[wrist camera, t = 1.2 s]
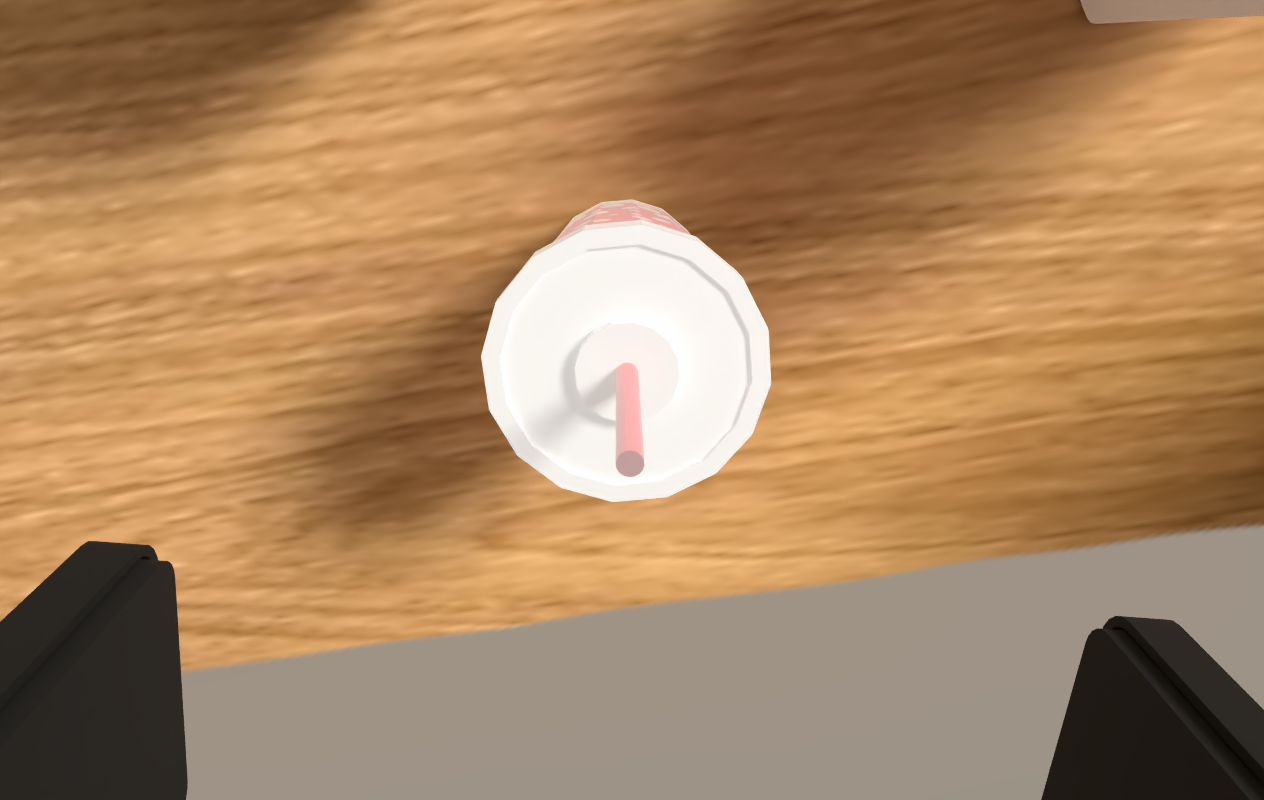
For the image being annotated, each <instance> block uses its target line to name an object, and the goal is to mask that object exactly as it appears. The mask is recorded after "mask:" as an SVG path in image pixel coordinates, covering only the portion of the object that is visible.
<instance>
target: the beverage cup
mask: <svg viewBox="0 0 1264 800" xmlns="http://www.w3.org/2000/svg"><path fill="white" fill-rule="evenodd" d="M481 359H482V366H483V373H484V380H485V386H486V393H487V400H488V406H489V411H490V412H491V414H492V415H493V417H494V419H495V420H496V422H497V424H498V425H499V427H500V428H501V430H502V432H503V433H504V435H505V437H506V438H507V440H508V441H509V443H510V445H511V446H512V448H513V450H514V451H515V453H516V454H517V456H518V457H520V458H521V459H522V460H524V461H525V462H526V463H528V464H529V465H531V466H532V467H533V468H535V469H536V470H537V471H539V472H540V473H541V474H543V475H544V476H545V477H547V478H548V479H550V480H551V481H552V482H554V483H555V484H556V485H558V486H559V487H560V488H564V489H567V490H571V491H575V492H578V493H582V494H585V495H589V496H593V497H596V498H600V499H604V500H607V501H611V502H619V501H630V500H641V499H652V498H663V497H668V496H670V495H672V494H674V493H677V492H679V491H681V490H683V489H685V488H687V487H689V486H691V485H693V484H695V483H697V482H699V481H701V480H703V479H705V478H708V477H710V476H712V475H714V474H716V473H717V472H718V471H719V469H720V468H721V467H722V466H723V465H724V464H725V463H726V462H727V461H728V460H729V459H730V458H731V457H732V455H733V454H734V453H735V452H736V451H737V450H738V449H739V448H740V447H741V446H742V445H743V444H744V442H745V441H746V440H747V439H748V438H749V437H750V436H751V435H752V434H753V431H754V428H755V426H756V423H757V420H758V417H759V415H760V412H761V409H762V407H763V404H764V401H765V399H766V396H767V393H768V391H769V388H770V385H771V371H770V351H769V330H768V327H767V325H766V323H765V321H764V319H763V317H762V315H761V313H760V311H759V309H758V307H757V305H756V303H755V301H754V299H753V297H752V295H751V293H750V291H749V289H748V287H747V285H746V283H745V281H744V279H743V277H742V276H741V275H740V274H739V273H738V272H737V271H736V270H735V269H734V268H733V267H731V266H730V265H729V264H728V263H727V262H725V261H724V260H723V259H722V258H721V257H720V256H718V255H717V254H716V253H715V252H714V251H712V250H711V249H710V248H709V247H708V246H706V245H705V244H704V243H703V242H702V241H700V240H699V239H698V238H697V237H696V236H693V235H691V234H690V233H689V232H688V231H687V229H686V228H685V227H683V226H682V225H681V224H680V223H679V222H677V221H676V220H675V219H674V218H673V217H671V216H670V215H669V214H668V213H667V212H665V211H664V210H663V209H662V208H659V207H655V206H652V205H649V204H646V203H642V202H639V201H636V200H633V199H630V200H620V201H610V202H601V203H599V204H597V205H595V206H593V207H591V208H590V209H588V210H586V211H584V212H582V213H580V214H578V215H577V216H575V217H573V219H572V220H571V221H570V222H569V224H568V225H567V226H566V227H565V228H564V230H563V231H562V232H561V233H560V235H559V236H558V237H557V238H556V240H555V241H554V242H553V243H551V244H549V245H547V246H545V247H543V248H541V249H539V250H538V251H536V252H535V253H534V254H533V255H532V256H531V258H530V259H529V260H528V261H527V263H526V264H525V265H524V266H523V268H522V269H521V270H520V271H519V273H518V274H517V275H516V276H515V278H514V279H513V280H512V281H511V283H510V284H509V285H508V286H507V288H506V289H505V290H504V291H503V293H502V294H501V295H500V296H499V298H498V299H497V301H496V303H495V306H494V310H493V314H492V317H491V321H490V325H489V328H488V332H487V336H486V340H485V343H484V347H483V351H482V354H481Z"/></svg>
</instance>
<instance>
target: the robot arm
mask: <svg viewBox="0 0 1264 800" xmlns="http://www.w3.org/2000/svg"><path fill="white" fill-rule="evenodd" d="M186 795H187V765H186V748H185V732H184V716H183V700H182V684H181V666H180V650H179V634H178V617H177V601H176V585H175V574H174V569H173V566H172V564H171V563H170V562H168V561H158V558H157V555H156V553H155V550H154V549H153V548H152V547H151V546H150V545H139V544H125V543H112V542H98V541H88V542H86V543H85V544H83V545H82V546H80V547H79V548H78V549H77V550H76V551H75V552H74V553H73V554H72V555H71V556H70V557H69V558H68V559H67V560H66V561H65V562H63V563H62V564H61V565H60V566H59V567H58V568H57V569H56V570H55V571H54V572H53V573H52V574H51V575H50V576H49V577H48V578H46V579H45V580H44V581H43V582H42V583H41V584H40V585H39V586H38V587H37V588H36V589H35V590H34V591H33V592H32V593H31V594H29V595H28V596H27V597H26V598H25V599H24V600H23V601H22V602H21V603H20V604H19V605H18V606H17V607H16V608H15V609H13V610H12V611H11V612H10V613H9V614H8V615H7V616H6V617H5V618H4V619H3V620H2V621H1V622H0V800H186ZM1041 800H1264V710H1263V709H1262V708H1261V707H1260V706H1259V705H1258V704H1257V703H1256V702H1255V701H1254V700H1253V699H1252V698H1251V697H1250V696H1249V695H1248V694H1247V693H1246V692H1245V691H1244V690H1243V689H1242V688H1241V687H1240V686H1239V685H1238V684H1237V683H1236V681H1234V680H1233V679H1232V677H1231V676H1230V675H1228V674H1227V672H1225V670H1224V669H1223V668H1222V667H1221V666H1220V665H1219V664H1218V663H1217V662H1215V660H1214V659H1213V658H1212V657H1211V656H1210V655H1209V654H1208V653H1207V652H1206V651H1205V650H1204V649H1203V648H1202V647H1200V645H1199V644H1198V643H1197V642H1196V641H1195V640H1194V639H1193V638H1192V637H1191V636H1189V634H1188V633H1187V632H1186V631H1185V630H1184V629H1183V628H1182V627H1181V626H1180V625H1178V624H1177V623H1175V622H1174V621H1171V620H1163V619H1149V618H1136V617H1122V616H1115V617H1113V618H1111V619H1109V620H1108V621H1107V623H1106V624H1105V625H1104V627H1103V629H1095V630H1093V631H1092V632H1091V634H1090V635H1089V636H1088V638H1087V641H1086V644H1085V647H1084V650H1083V654H1082V658H1081V661H1080V665H1079V668H1078V672H1077V675H1076V679H1075V682H1074V686H1073V690H1072V693H1071V697H1070V700H1069V704H1068V707H1067V711H1066V714H1065V718H1064V722H1063V725H1062V728H1061V732H1060V736H1059V739H1058V743H1057V746H1056V750H1055V753H1054V757H1053V760H1052V764H1051V767H1050V771H1049V775H1048V778H1047V782H1046V785H1045V789H1044V792H1043V796H1042V799H1041Z"/></svg>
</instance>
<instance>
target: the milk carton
mask: <svg viewBox="0 0 1264 800" xmlns="http://www.w3.org/2000/svg"><path fill="white" fill-rule="evenodd" d="M1080 1H1081V4H1082V7H1083V10H1084V12H1085V15H1086V17H1087V19H1088V21H1090V22H1091V23H1094V24H1103V23H1123V22H1143V21H1163V20H1184V19H1204V18H1224V17H1244V16H1264V0H1080Z"/></svg>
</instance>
